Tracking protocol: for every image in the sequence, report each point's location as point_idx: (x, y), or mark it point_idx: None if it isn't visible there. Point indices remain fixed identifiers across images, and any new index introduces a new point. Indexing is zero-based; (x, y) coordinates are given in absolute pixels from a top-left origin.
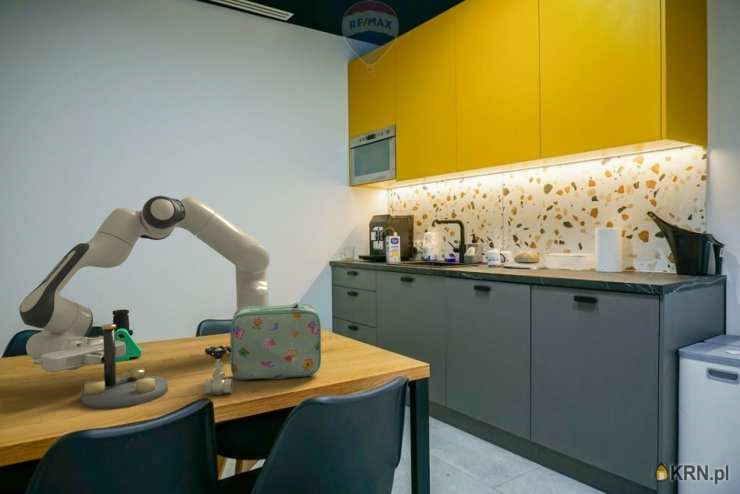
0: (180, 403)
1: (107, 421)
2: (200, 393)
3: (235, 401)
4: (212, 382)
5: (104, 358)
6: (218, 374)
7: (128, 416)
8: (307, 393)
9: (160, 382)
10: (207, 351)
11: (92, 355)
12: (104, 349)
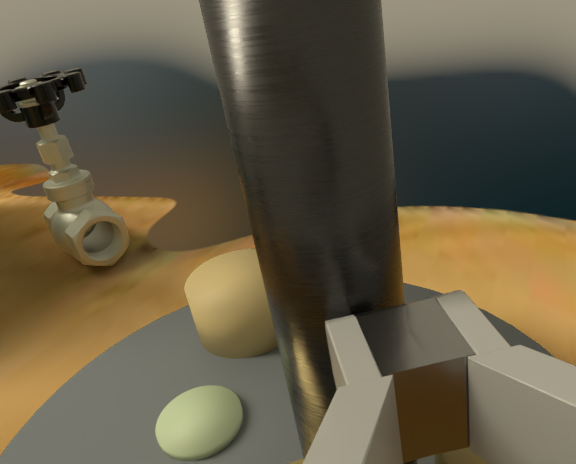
0: (225, 250)
1: (493, 237)
2: (104, 286)
3: (140, 204)
4: (99, 208)
5: (401, 275)
6: (86, 171)
7: (414, 240)
8: (34, 182)
9: (99, 388)
10: (80, 74)
11: (561, 382)
12: (391, 158)
